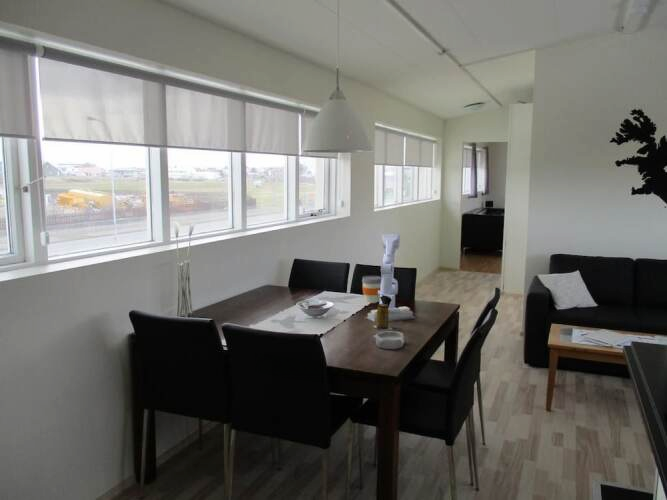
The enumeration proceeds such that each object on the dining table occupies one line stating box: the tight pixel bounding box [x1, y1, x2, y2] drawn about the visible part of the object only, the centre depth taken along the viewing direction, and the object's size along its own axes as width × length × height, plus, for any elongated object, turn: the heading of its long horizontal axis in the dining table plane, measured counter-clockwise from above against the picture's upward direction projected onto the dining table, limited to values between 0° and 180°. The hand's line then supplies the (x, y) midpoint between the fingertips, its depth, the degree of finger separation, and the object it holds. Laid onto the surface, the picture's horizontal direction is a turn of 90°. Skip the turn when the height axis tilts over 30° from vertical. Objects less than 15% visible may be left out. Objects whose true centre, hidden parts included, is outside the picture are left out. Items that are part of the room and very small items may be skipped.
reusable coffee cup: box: [361, 275, 382, 304], centre depth 337 cm, size 13×13×15 cm
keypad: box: [364, 310, 417, 324], centre depth 300 cm, size 12×26×3 cm, turn 117°
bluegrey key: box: [390, 307, 401, 314], centre depth 301 cm, size 4×4×3 cm
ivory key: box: [398, 306, 411, 312], centre depth 304 cm, size 4×4×3 cm
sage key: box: [370, 309, 378, 316], centre depth 296 cm, size 4×4×3 cm
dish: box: [372, 330, 405, 350], centre depth 253 cm, size 14×14×5 cm
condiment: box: [372, 303, 393, 331], centre depth 280 cm, size 7×8×12 cm
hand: (385, 309), depth 299 cm, fingers closed
